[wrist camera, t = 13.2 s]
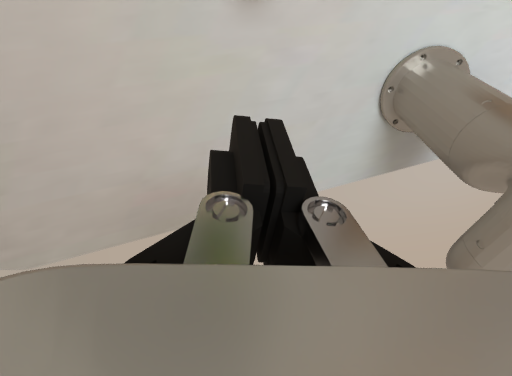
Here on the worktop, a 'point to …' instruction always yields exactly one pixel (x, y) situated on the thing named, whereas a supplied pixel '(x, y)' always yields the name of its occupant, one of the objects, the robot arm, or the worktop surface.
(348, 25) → the worktop surface
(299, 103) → the worktop surface
